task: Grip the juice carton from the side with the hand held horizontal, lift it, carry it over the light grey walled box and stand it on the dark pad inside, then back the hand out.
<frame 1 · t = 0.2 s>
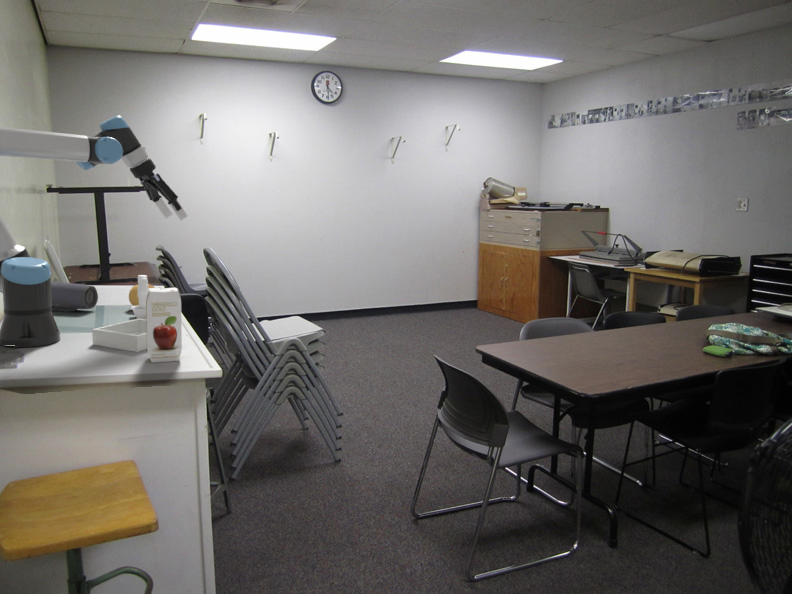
hand: (176, 217, 207), 35 cm above the table, tool tilted 35°, fingers open, 13 cm apart
bluetooth speaker: (62, 310, 216), on the table
walled box: (138, 341, 177), on the table
figurine: (143, 318, 210), on the table
juice carton: (164, 359, 161), on the table
stress ball: (143, 310, 224), on the table
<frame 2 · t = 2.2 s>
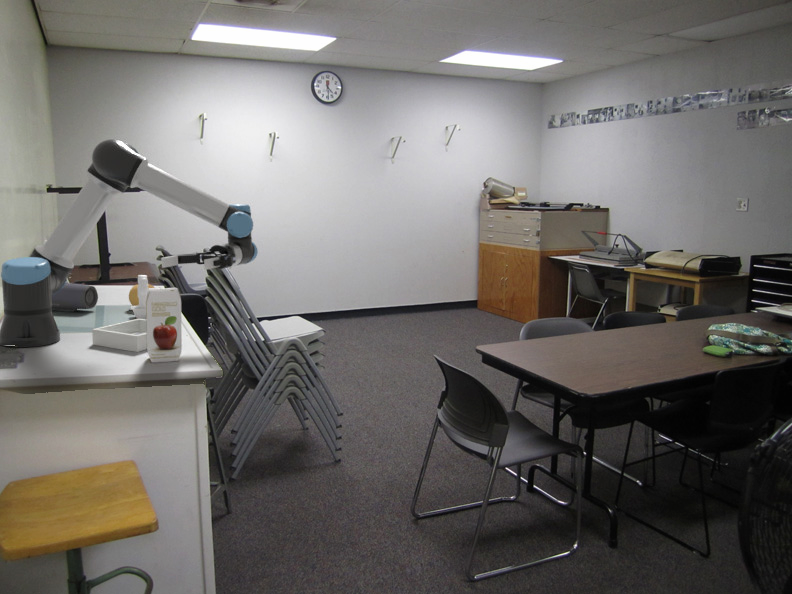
hand: (183, 263, 167), 25 cm above the table, tool horizontal, fingers open, 13 cm apart
nothing on the table moved.
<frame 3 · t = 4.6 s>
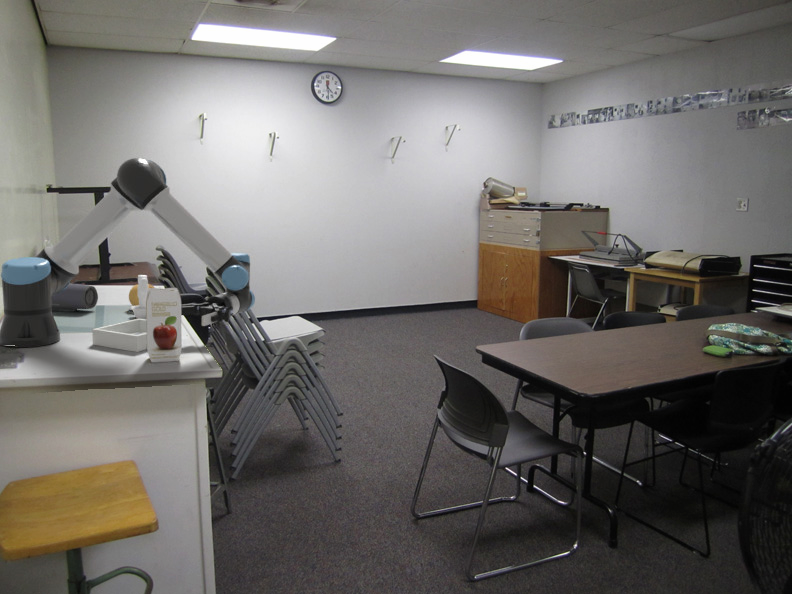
hand: (180, 318, 166), 10 cm above the table, tool horizontal, fingers open, 13 cm apart
nothing on the table moved.
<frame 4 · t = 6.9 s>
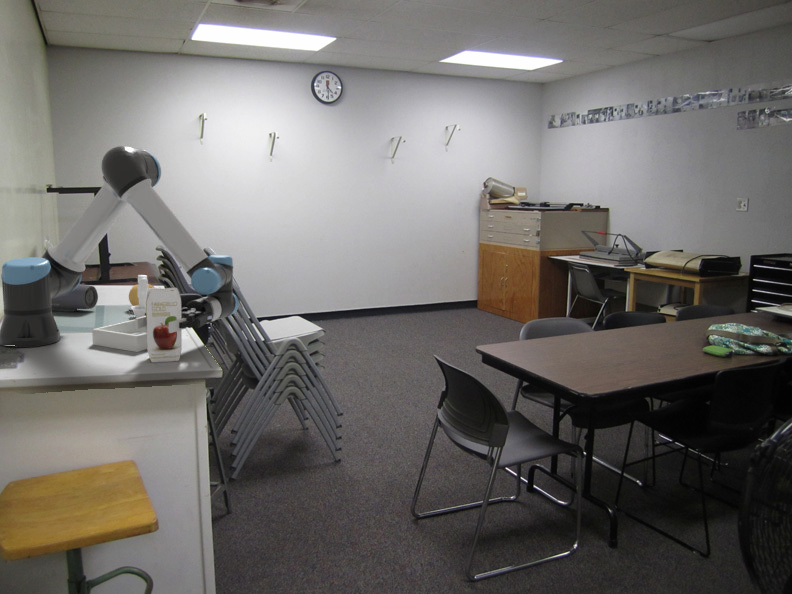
hand: (153, 325, 155), 10 cm above the table, tool horizontal, fingers closed on juice carton, 9 cm apart
juice carton: (164, 359, 161), on the table, touching gripper
everything else where it was.
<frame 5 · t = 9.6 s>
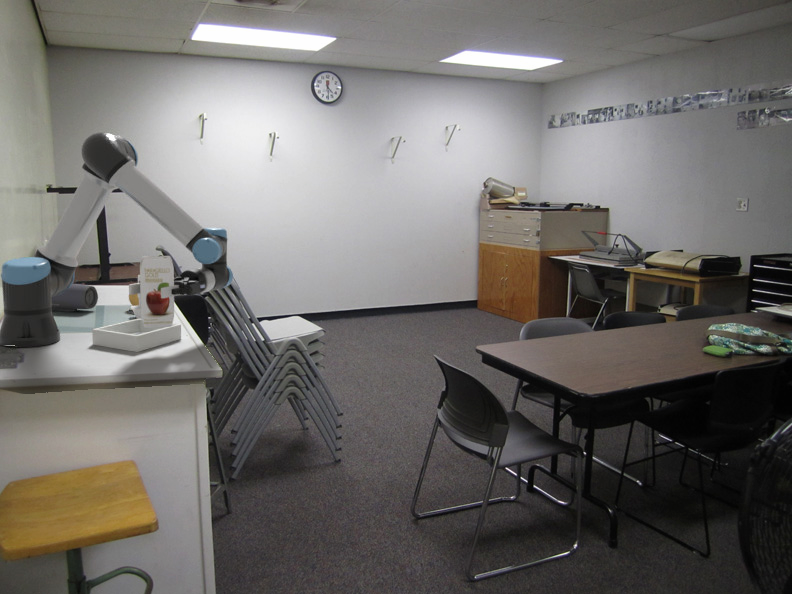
hand: (146, 291, 159), 18 cm above the table, tool horizontal, fingers closed on juice carton, 9 cm apart
juice carton: (157, 325, 165), point 8 cm above the table, touching gripper
everything else where it was.
when the fingers open (12 cm above the table, at t = 12.5 s): juice carton drops 1 cm, resting on walled box.
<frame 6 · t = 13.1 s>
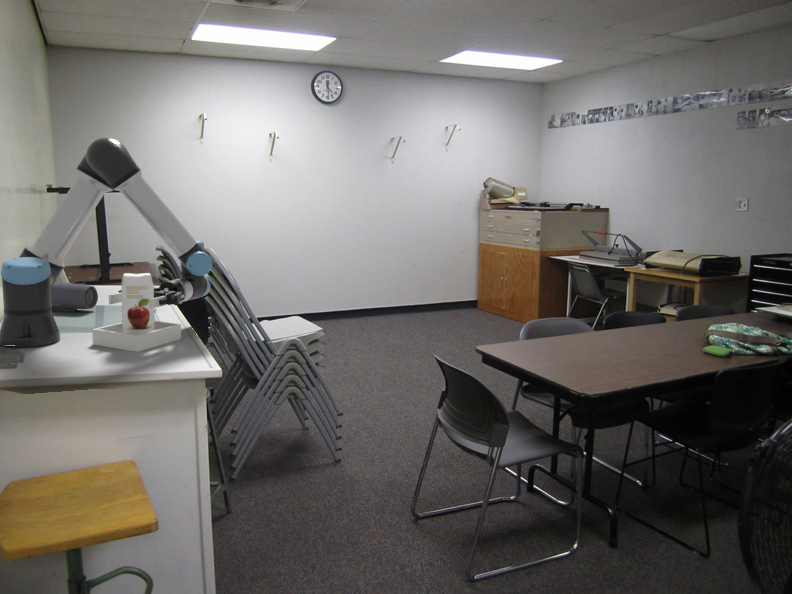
hand: (129, 301, 172), 12 cm above the table, tool horizontal, fingers open, 13 cm apart
juice carton: (138, 338, 177), point 1 cm above the table, touching walled box
everything else where it was.
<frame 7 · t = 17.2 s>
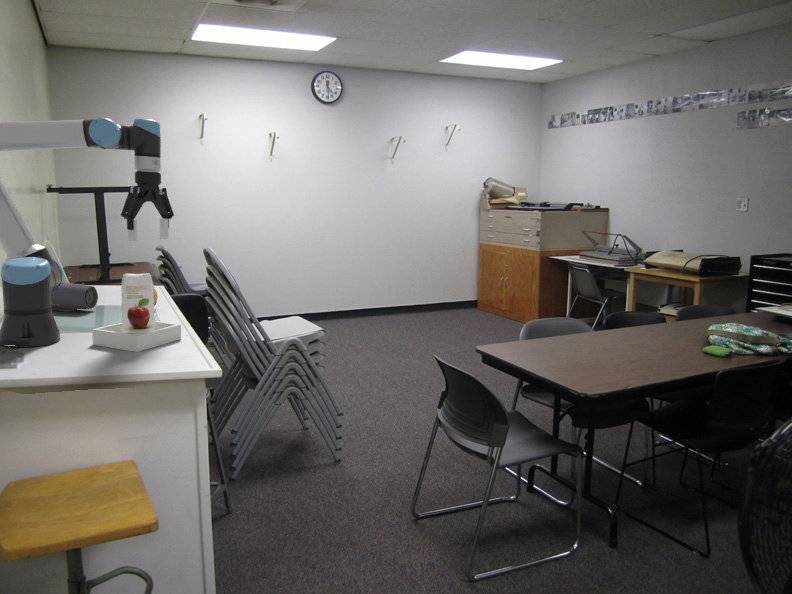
hand: (149, 239, 190), 29 cm above the table, tool pointing down, fingers open, 13 cm apart
nothing on the table moved.
at the end: juice carton inside the target area on the walled box (0.1 cm from its centre), point 0.9 cm above the walled box's base; juice carton tilted 0°; the gripper is holding nothing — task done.
